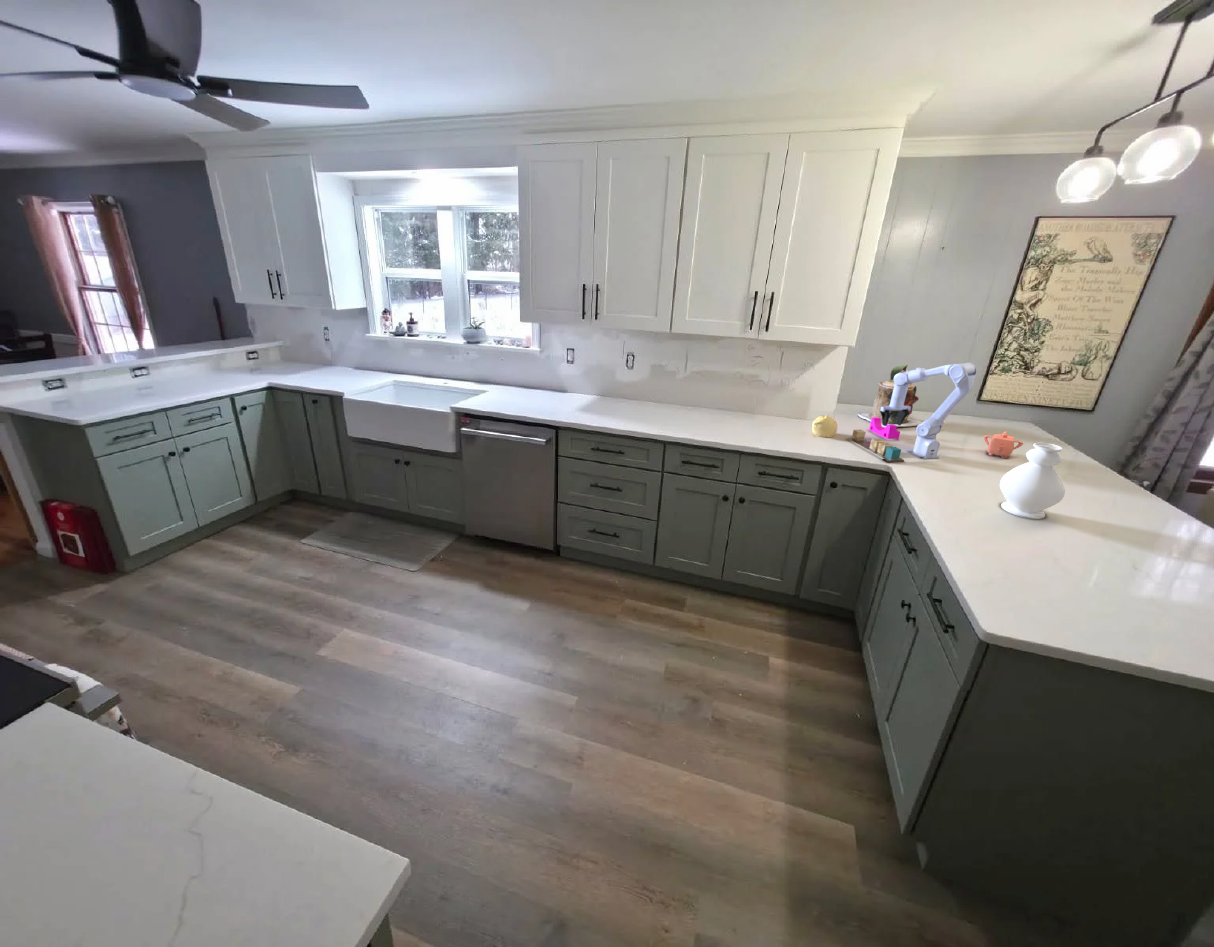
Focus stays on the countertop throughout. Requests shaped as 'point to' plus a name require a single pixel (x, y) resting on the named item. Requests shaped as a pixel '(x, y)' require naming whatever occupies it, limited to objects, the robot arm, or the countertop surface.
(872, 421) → the toy block
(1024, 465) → the decorative vase
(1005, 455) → the teapot
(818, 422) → the pale yellow lumpy ball
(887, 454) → the teal cube
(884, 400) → the cookie jar
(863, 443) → the board
